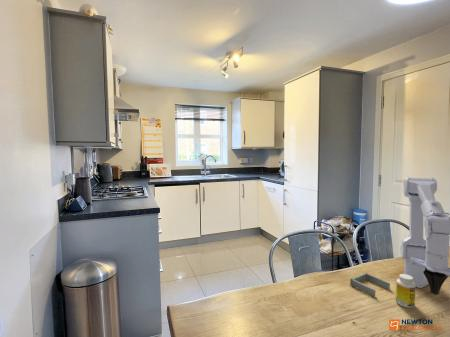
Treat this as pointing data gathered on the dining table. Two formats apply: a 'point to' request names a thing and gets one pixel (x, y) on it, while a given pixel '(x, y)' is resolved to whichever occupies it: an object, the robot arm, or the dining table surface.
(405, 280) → the supplement bottle
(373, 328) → the dining table surface
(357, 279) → the cup cradle
